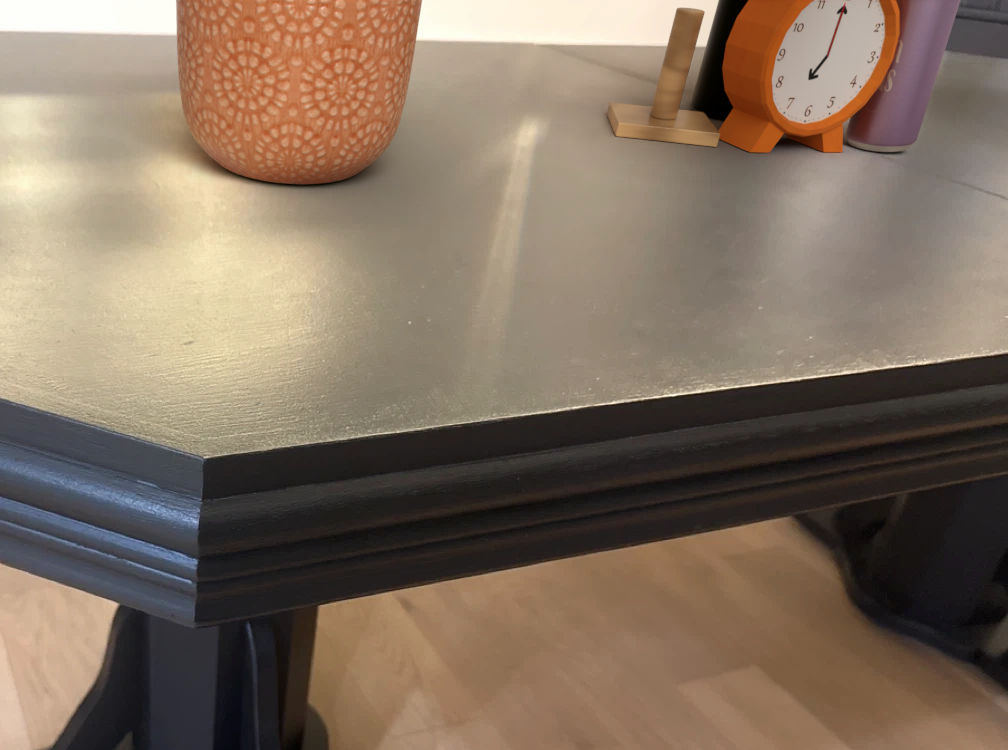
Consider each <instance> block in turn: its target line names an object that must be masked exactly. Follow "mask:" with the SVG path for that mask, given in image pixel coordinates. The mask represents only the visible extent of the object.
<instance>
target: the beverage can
mask: <svg viewBox="0 0 1008 750" xmlns="http://www.w3.org/2000/svg"><path fill="white" fill-rule="evenodd" d="M896 2H897V5H898V8H899V10H900V34H899V38H898V42H897V46H896V50H895V54H894V58H893V61H892V63H891V65H890V67H889V69H888V71H887V73H886V75H885V77H884V79H883V81H882V83H881V84H880V86H879V87H878V88H877V90H876V91H875V92H874V94H873V95H872V96H871V98H870V99H869V100H868V102H867V103H866V104H865V105H864V106H863V107H862V108H861V109H860V110H859V111H857V112H856V113H855V114H854V115H853V116H852V117H851V118H849V120H848V125H847V128H846V132H845V137H846V140H847V143H848V144H849V145H850V146H852V147H855V148H857V149H859V150H864V151H871V152H880V153H897V152H902V151H906V150H909V149H910V148H911V147H912V146H913V145H914V144H915V143H916V142H917V140H918V137H919V134H920V131H921V128H922V125H923V121H924V118H925V115H926V111H927V109H928V105H929V103H930V99H931V96H932V92H933V90H934V86H935V83H936V80H937V77H938V73H939V70H940V67H941V63H942V61H943V58H944V55H945V51H946V48H947V44H948V41H949V38H950V36H951V32H952V29H953V25H954V23H955V20H956V16H957V13H958V10H959V7H960V3H961V0H896Z"/></svg>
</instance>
